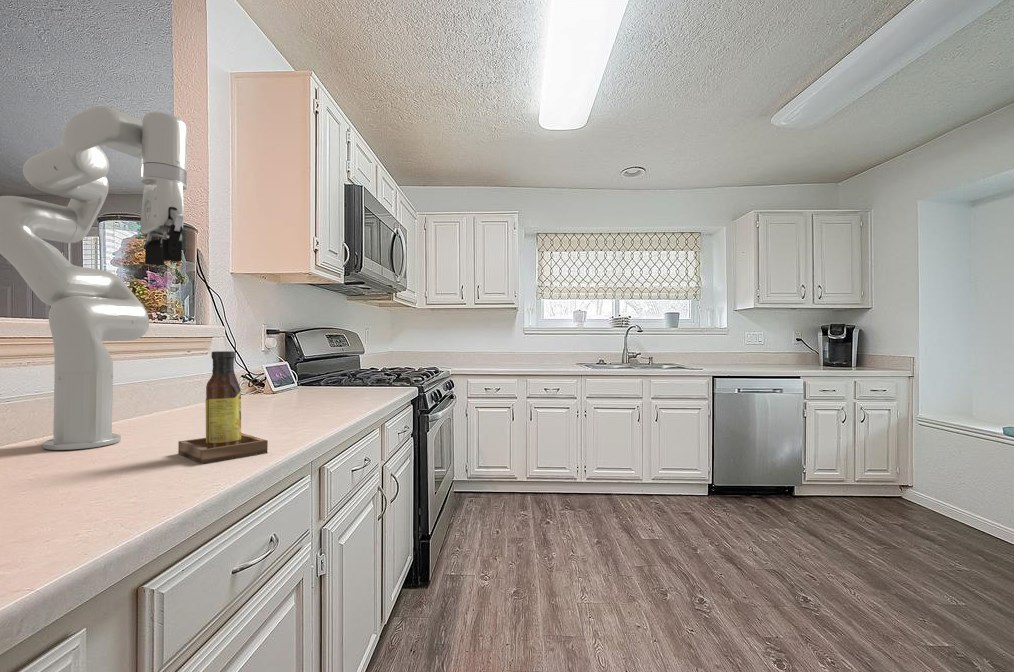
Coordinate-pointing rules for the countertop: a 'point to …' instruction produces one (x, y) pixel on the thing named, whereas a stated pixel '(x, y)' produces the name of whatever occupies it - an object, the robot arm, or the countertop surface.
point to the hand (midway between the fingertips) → (162, 262)
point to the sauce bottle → (223, 402)
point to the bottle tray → (222, 449)
